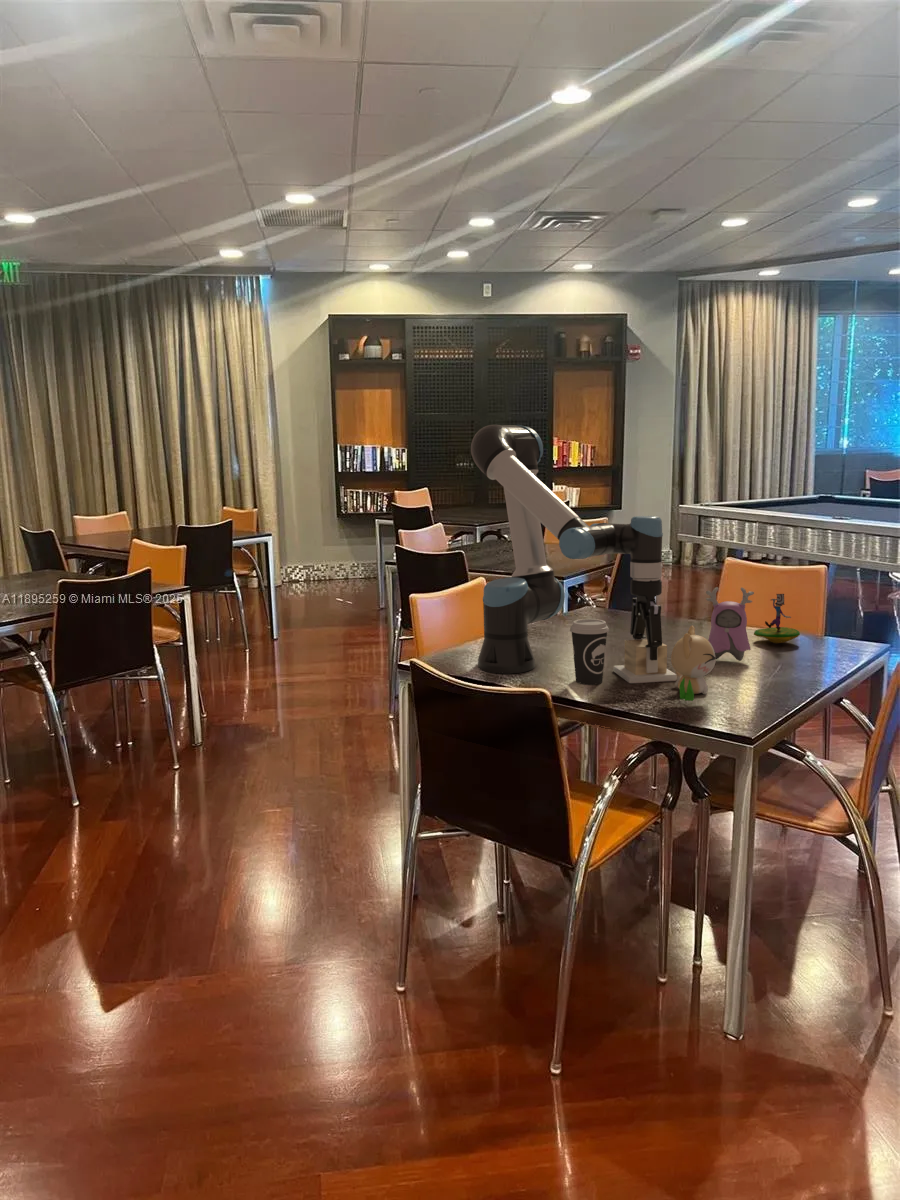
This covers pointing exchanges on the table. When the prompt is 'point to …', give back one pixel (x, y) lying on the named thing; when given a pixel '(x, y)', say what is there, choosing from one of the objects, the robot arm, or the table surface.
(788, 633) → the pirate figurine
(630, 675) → the grey tile
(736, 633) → the toy character
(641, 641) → the maple brick
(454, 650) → the table surface
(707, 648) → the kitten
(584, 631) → the coffee cup
